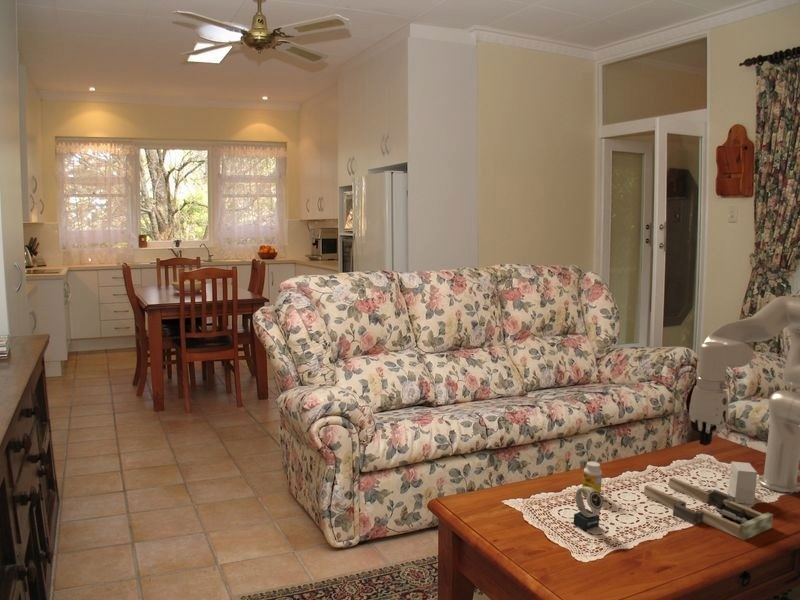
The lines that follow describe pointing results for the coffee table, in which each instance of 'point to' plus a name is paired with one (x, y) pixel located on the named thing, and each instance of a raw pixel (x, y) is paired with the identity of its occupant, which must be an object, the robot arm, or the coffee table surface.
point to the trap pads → (713, 502)
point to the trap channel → (680, 510)
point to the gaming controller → (733, 513)
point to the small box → (742, 482)
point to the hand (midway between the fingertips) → (705, 443)
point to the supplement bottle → (592, 477)
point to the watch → (586, 517)
